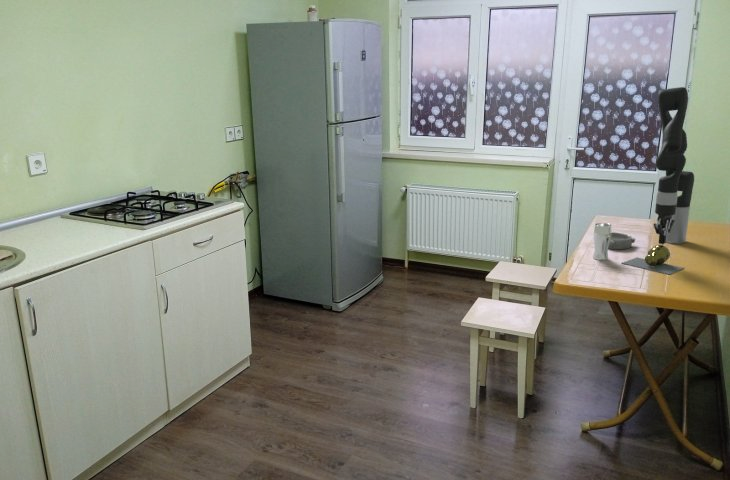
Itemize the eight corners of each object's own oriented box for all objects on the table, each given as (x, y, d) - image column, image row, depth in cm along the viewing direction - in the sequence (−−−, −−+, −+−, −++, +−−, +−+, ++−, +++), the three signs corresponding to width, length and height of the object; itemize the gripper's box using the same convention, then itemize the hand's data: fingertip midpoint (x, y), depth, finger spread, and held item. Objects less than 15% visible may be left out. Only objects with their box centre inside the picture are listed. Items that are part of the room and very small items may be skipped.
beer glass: (596, 255, 259) (598, 222, 255) (611, 258, 254) (614, 224, 250) (589, 258, 254) (591, 224, 250) (604, 261, 249) (607, 227, 245)
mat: (636, 258, 253) (636, 257, 253) (684, 268, 237) (684, 267, 237) (621, 263, 246) (621, 262, 246) (669, 274, 230) (669, 274, 230)
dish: (613, 251, 264) (613, 241, 262) (593, 244, 277) (594, 233, 275) (640, 248, 267) (641, 237, 266) (619, 241, 280) (620, 230, 279)
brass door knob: (667, 264, 243) (655, 273, 238) (650, 255, 248) (638, 264, 243) (673, 249, 239) (660, 258, 234) (655, 241, 244) (643, 250, 239)
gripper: (665, 199, 245) (660, 239, 250) (648, 203, 238) (644, 244, 242) (683, 201, 239) (678, 242, 244) (667, 206, 232) (662, 248, 236)
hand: (661, 243), depth 243 cm, fingers closed
